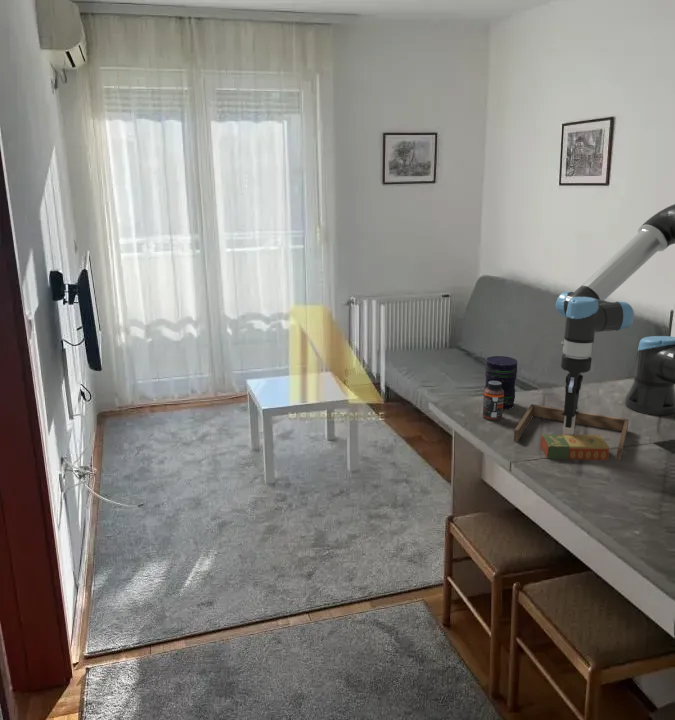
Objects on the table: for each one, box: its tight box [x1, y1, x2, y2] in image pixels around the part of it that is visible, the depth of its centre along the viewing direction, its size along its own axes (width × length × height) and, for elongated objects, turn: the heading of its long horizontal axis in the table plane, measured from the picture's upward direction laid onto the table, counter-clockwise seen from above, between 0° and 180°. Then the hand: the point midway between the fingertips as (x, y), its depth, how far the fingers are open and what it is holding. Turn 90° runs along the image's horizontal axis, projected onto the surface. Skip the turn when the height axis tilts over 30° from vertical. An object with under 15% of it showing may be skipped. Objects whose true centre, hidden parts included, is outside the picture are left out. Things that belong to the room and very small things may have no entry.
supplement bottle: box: [482, 381, 504, 421], centre depth 206 cm, size 6×6×11 cm
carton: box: [539, 433, 610, 461], centre depth 182 cm, size 8×16×4 cm, turn 86°
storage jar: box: [483, 355, 518, 410], centre depth 216 cm, size 10×10×15 cm
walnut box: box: [513, 403, 630, 462], centre depth 193 cm, size 28×23×4 cm
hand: (567, 436), depth 187 cm, fingers closed
